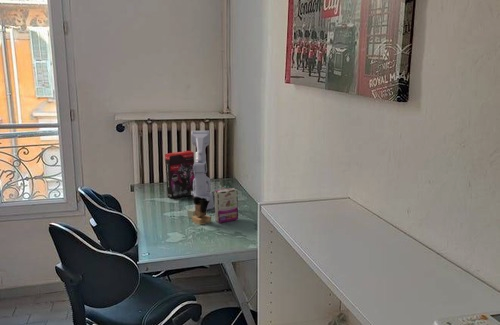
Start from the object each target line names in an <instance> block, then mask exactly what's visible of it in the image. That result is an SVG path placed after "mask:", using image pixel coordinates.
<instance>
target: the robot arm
mask: <svg viewBox="0 0 500 325" xmlns="http://www.w3.org/2000/svg"><path fill="white" fill-rule="evenodd" d="M210 132H211V131H210V130H191V143H192V145H193V146H194V147H196V151H195V153H194V165H193V169H194V177H195V178H194V180H193V191H191V195H190V196H192V197H191V200H192V201H193V203H194V205H195V204H199V203H200V204H201V211H202V213H205V212H206V213H207V211H208V210H212V209H215V206H214V194H213V193H212V192H211V191H212V182H211V178H210V177H208V176H207V172H208V167H207V154H206V148H207V147H208V146H209V145H210V141H211V140H210V139H211V138H210V136H211V135H210V134H211V133H210ZM192 208H194V209H195V206H192Z"/></svg>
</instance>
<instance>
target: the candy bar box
mask: <svg viewBox="0 0 500 325" xmlns="http://www.w3.org/2000/svg"><path fill="white" fill-rule="evenodd" d="M238 198H239V197H238V189H237V188H235V187H229V188H224V189H217V190H216V189H215V190H214V214H215V215H214V216H215V217H214V218H215V220H214V221H215V223H216V222H217V223H218V224H223V223H229V222H234V221H238V220H239V208H238V207H239V206H238V205H239V202H238Z"/></svg>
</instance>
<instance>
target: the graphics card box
mask: <svg viewBox="0 0 500 325" xmlns="http://www.w3.org/2000/svg"><path fill="white" fill-rule="evenodd" d="M164 160H165V164H164V165H165V174H166V176H165V177H166V193H167V198H170V199H171V200H175V199H179V198H183V197H188V196H192V195H191V191H193V180H194V178H195V177H194V169H193V165H194V164H195V153H194V152H193V151H191V150H186V151H185V150H184V151H177V152H169V153H164Z"/></svg>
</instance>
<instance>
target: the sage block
mask: <svg viewBox="0 0 500 325" xmlns="http://www.w3.org/2000/svg"><path fill="white" fill-rule="evenodd" d="M192 216H196V215H195V209H194V208H193V207H192V208H189V209H187V218H190V219H192Z"/></svg>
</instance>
